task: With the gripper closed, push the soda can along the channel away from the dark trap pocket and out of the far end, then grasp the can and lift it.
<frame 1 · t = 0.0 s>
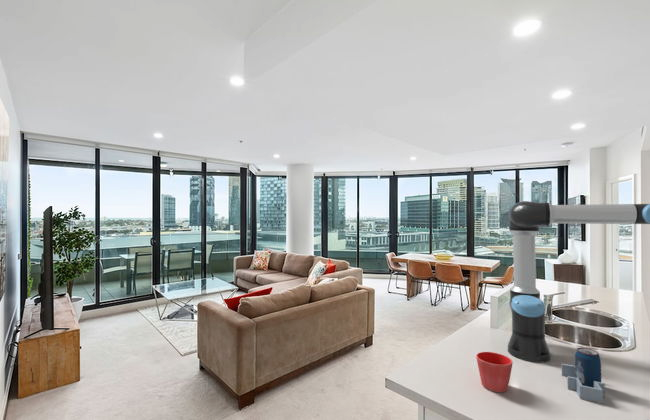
soda can: (588, 386, 109), on the counter
flower pot: (494, 387, 109), on the counter
channel: (581, 384, 110), on the counter
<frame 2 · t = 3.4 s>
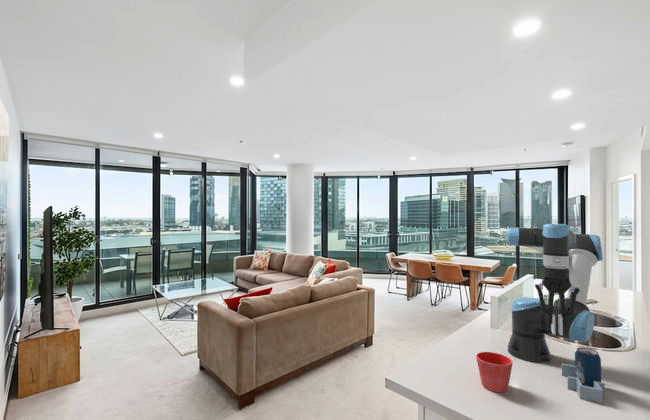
hand: (557, 333, 113), 16 cm above the counter, tool pointing down, fingers closed
nothing on the counter moved.
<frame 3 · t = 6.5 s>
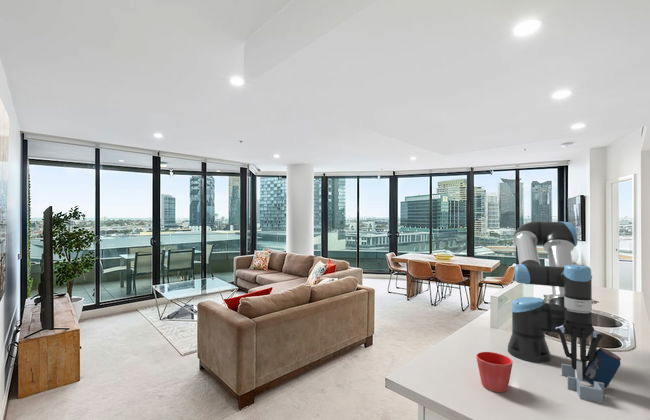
hand: (578, 379, 110), 2 cm above the counter, tool pointing down, fingers closed
soda can: (592, 383, 108), point 1 cm above the counter, touching gripper
everything else where it was.
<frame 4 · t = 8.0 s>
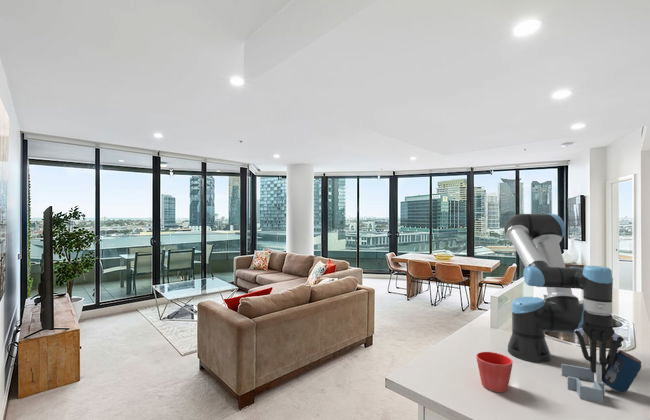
hand: (598, 382, 107), 2 cm above the counter, tool pointing down, fingers closed
soda can: (611, 386, 106), point 1 cm above the counter, touching gripper, hand
everything else where it was.
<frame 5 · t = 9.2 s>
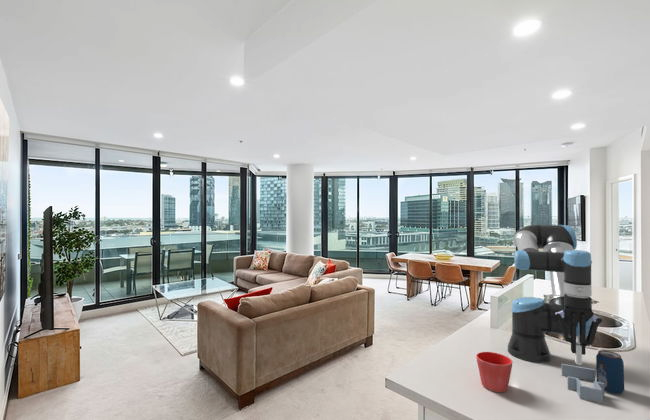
hand: (578, 362, 111), 7 cm above the counter, tool pointing down, fingers closed
soda can: (610, 390, 106), on the counter
everything else where it was.
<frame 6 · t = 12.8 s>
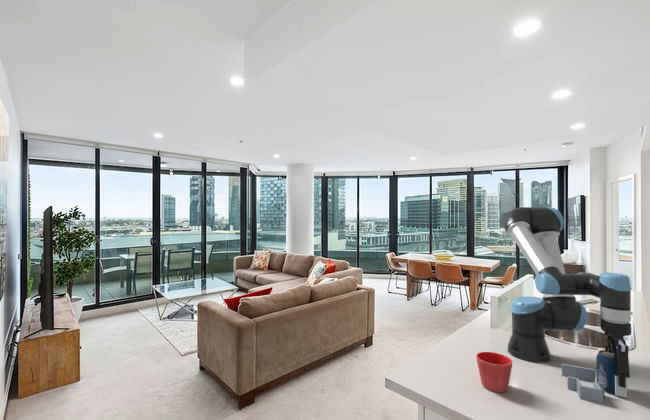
hand: (616, 389, 105), 1 cm above the counter, tool pointing down, fingers closed on soda can, 7 cm apart
soda can: (610, 390, 106), on the counter, touching gripper
everything else where it was.
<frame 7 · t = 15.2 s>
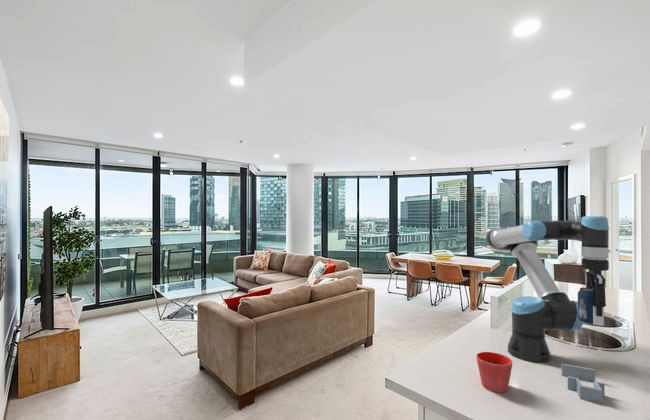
hand: (595, 321, 116), 20 cm above the counter, tool pointing down, fingers closed on soda can, 7 cm apart
soda can: (589, 322, 117), point 19 cm above the counter, touching gripper
everything else where it was.
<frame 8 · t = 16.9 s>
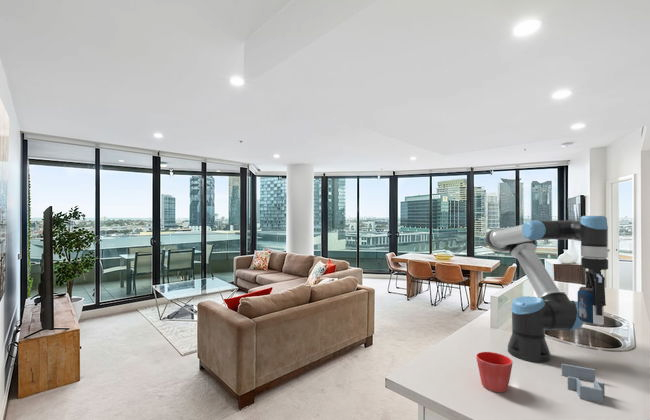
hand: (595, 320, 116), 20 cm above the counter, tool pointing down, fingers closed on soda can, 7 cm apart
soda can: (589, 322, 117), point 19 cm above the counter, touching gripper
everything else where it was.
at the end: soda can point 19.2 cm above the counter; the gripper is holding soda can; soda can moved 21.9 cm from its start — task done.
